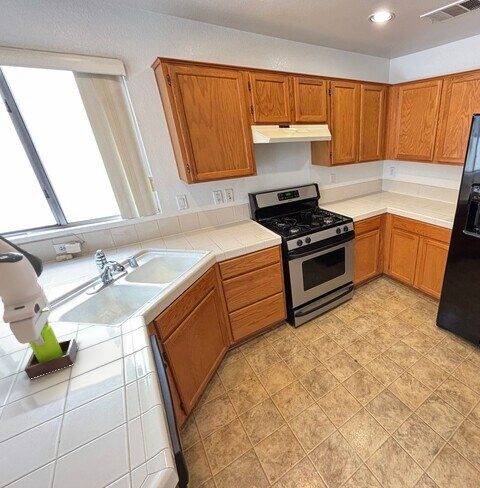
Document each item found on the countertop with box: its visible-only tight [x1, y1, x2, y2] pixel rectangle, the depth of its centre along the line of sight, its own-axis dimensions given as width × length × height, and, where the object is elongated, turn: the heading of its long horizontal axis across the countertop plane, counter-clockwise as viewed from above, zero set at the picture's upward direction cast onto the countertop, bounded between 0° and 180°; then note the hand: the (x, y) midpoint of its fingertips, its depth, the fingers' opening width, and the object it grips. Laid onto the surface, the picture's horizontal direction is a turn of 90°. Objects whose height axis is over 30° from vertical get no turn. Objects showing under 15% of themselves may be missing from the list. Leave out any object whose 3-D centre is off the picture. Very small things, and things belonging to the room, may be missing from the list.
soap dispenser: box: [28, 308, 64, 363], centre depth 88 cm, size 6×7×20 cm
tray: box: [24, 337, 79, 380], centre depth 91 cm, size 11×11×5 cm
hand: (43, 337), depth 88 cm, fingers closed on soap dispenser, 6 cm apart
